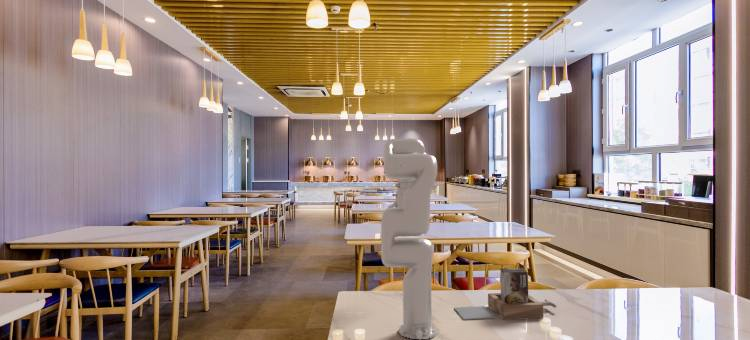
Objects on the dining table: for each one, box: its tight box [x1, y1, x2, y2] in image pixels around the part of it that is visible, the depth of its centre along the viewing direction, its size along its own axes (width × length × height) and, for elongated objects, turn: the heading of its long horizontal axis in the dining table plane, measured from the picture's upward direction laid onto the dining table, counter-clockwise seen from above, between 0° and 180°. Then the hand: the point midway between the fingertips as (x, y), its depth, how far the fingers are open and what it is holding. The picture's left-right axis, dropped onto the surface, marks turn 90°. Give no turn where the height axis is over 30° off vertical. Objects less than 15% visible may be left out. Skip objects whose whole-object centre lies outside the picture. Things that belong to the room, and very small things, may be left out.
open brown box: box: [487, 292, 557, 320], centre depth 153 cm, size 15×23×5 cm, turn 96°
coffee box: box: [500, 267, 529, 304], centre depth 152 cm, size 9×6×16 cm
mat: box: [453, 305, 497, 321], centre depth 151 cm, size 12×12×1 cm
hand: (407, 225), depth 175 cm, fingers open, 9 cm apart
